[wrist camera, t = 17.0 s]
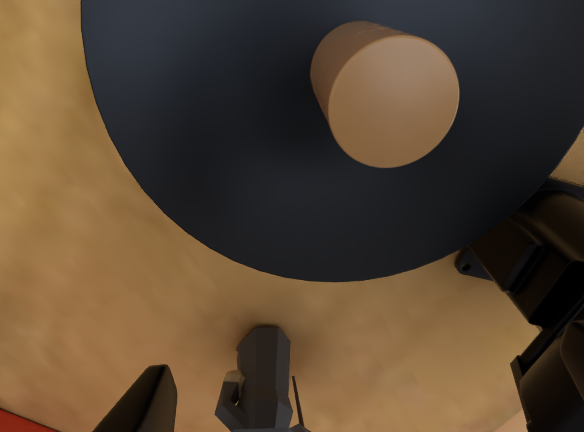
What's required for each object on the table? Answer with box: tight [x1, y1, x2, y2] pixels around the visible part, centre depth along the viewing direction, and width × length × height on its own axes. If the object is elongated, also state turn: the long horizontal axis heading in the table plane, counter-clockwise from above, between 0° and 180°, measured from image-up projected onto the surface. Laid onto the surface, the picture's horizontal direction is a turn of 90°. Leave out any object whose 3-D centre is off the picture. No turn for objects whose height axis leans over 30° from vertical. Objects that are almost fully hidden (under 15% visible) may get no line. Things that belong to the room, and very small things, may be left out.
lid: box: [81, 0, 584, 282], centre depth 10 cm, size 15×15×5 cm
